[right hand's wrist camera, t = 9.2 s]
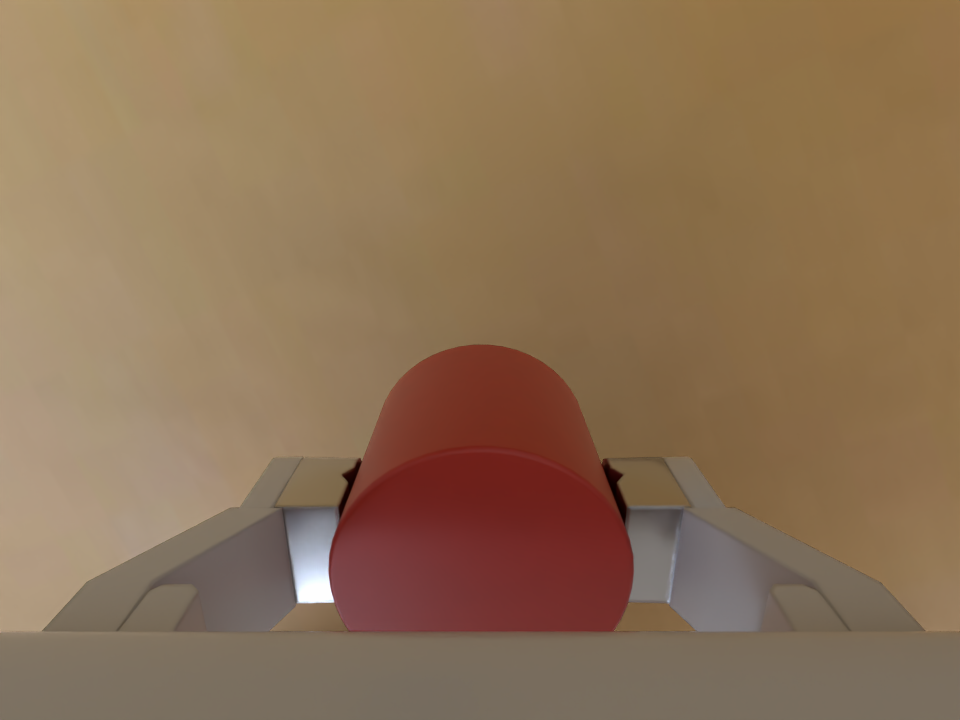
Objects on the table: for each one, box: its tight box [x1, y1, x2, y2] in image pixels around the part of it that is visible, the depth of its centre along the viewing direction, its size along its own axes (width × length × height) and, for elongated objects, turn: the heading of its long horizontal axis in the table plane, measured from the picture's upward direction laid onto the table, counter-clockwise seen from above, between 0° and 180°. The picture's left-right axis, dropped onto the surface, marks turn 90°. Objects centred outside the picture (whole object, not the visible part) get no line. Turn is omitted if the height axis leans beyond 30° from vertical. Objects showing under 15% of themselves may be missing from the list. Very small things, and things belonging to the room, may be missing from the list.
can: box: [328, 345, 634, 632], centre depth 10 cm, size 4×4×4 cm
